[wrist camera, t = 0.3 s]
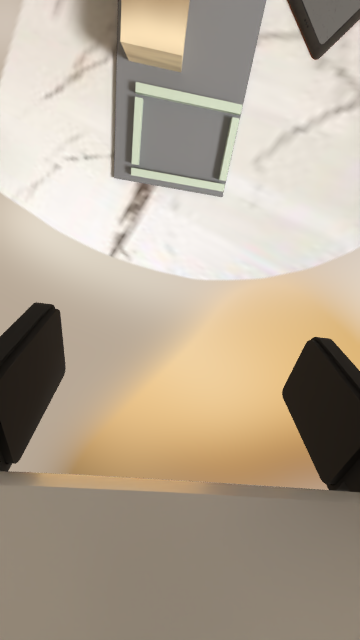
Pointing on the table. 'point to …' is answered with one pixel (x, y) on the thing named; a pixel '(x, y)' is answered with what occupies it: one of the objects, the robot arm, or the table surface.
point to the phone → (324, 21)
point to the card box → (154, 32)
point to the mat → (187, 101)
